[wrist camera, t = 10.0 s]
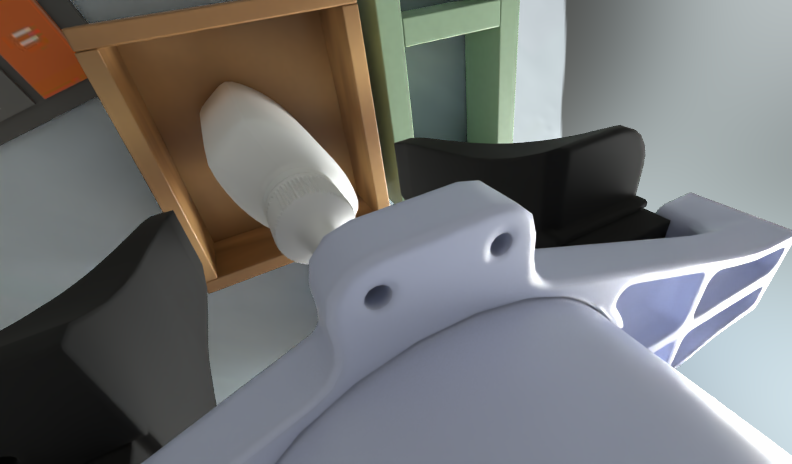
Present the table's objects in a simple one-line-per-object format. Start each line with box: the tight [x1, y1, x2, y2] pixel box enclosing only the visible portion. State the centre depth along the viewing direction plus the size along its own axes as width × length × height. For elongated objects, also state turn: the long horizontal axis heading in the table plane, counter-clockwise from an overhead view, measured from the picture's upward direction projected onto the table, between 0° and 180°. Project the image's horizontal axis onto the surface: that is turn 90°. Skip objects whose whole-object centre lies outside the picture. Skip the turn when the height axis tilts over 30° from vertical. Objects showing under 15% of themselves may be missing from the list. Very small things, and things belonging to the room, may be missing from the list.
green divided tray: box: [356, 0, 520, 204], centre depth 19 cm, size 18×8×3 cm, turn 9°
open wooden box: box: [62, 0, 390, 293], centre depth 18 cm, size 11×10×4 cm
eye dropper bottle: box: [200, 82, 358, 264], centre depth 14 cm, size 4×6×12 cm
